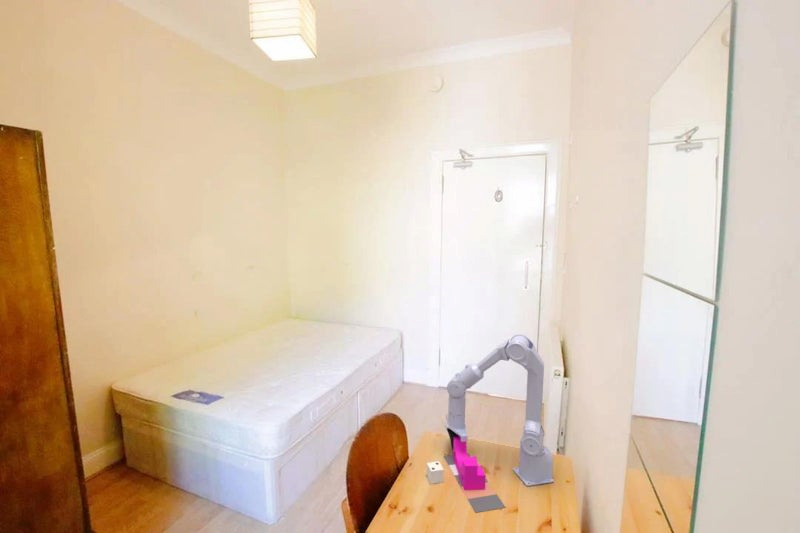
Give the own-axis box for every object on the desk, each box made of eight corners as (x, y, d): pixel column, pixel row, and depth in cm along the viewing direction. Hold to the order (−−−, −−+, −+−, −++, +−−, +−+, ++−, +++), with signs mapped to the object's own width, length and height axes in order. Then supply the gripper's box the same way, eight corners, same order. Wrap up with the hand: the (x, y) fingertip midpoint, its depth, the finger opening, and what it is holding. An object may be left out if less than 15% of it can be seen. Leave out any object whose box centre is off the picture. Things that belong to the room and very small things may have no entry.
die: (438, 473, 108) (439, 461, 108) (443, 482, 105) (443, 469, 104) (426, 475, 108) (427, 462, 107) (430, 483, 104) (431, 471, 103)
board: (467, 454, 119) (467, 452, 119) (505, 509, 95) (505, 507, 95) (443, 457, 117) (443, 455, 117) (475, 514, 93) (475, 512, 93)
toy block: (484, 489, 102) (485, 465, 101) (464, 490, 101) (465, 466, 101) (471, 457, 116) (471, 436, 116) (452, 458, 116) (453, 436, 115)
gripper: (438, 402, 124) (437, 439, 125) (453, 424, 110) (452, 464, 111) (456, 401, 125) (455, 437, 126) (474, 421, 111) (472, 461, 112)
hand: (455, 449), depth 119 cm, fingers closed
